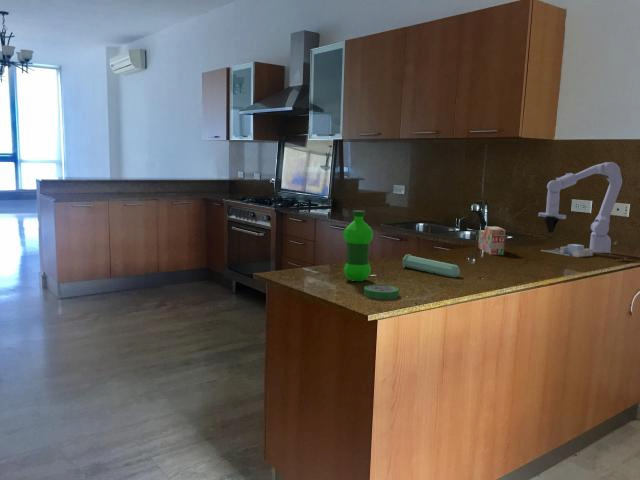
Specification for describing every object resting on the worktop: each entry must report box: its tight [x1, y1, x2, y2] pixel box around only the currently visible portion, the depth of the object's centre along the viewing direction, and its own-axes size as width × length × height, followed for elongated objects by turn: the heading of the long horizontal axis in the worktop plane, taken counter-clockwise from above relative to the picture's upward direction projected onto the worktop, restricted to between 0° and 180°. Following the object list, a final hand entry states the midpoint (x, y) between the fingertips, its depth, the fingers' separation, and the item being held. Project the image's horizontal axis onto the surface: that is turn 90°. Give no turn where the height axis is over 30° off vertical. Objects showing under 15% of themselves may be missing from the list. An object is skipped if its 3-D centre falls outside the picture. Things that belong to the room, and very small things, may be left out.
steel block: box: [566, 243, 585, 255], centre depth 257 cm, size 5×5×4 cm
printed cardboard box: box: [478, 226, 506, 256], centre depth 269 cm, size 21×6×12 cm, turn 0°
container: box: [402, 253, 461, 278], centre depth 215 cm, size 6×6×25 cm
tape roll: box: [363, 284, 400, 300], centre depth 176 cm, size 11×11×3 cm
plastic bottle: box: [342, 210, 374, 281], centre depth 196 cm, size 10×10×25 cm
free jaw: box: [558, 245, 567, 254], centre depth 260 cm, size 10×3×3 cm, turn 119°
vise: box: [540, 247, 594, 258], centre depth 261 cm, size 12×20×4 cm, turn 29°
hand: (550, 232), depth 272 cm, fingers closed
